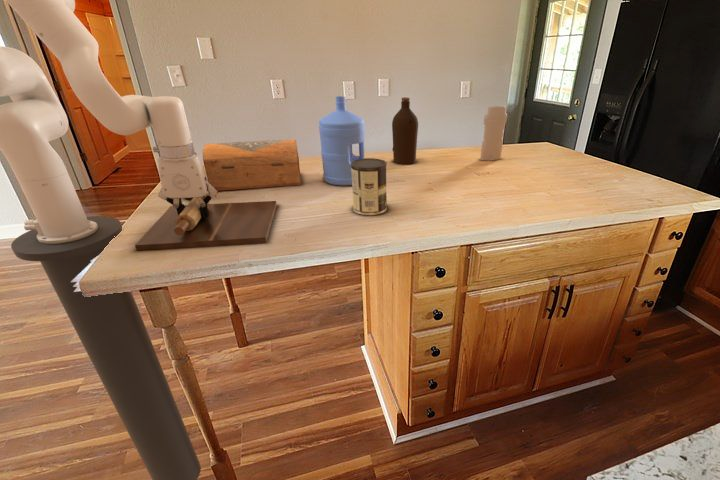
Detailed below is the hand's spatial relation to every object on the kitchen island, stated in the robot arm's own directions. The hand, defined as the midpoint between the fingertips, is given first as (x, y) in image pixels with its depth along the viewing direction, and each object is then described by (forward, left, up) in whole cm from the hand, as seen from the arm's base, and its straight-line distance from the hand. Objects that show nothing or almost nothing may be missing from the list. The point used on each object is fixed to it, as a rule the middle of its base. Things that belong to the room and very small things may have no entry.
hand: (195, 219), depth 105 cm
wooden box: (+11, +38, -2) cm, 40 cm away
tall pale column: (+106, +57, -2) cm, 120 cm away
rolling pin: (0, 0, +2) cm, 2 cm away
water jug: (+42, +36, -2) cm, 55 cm away
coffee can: (+48, +6, -2) cm, 48 cm away
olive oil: (+68, +58, -2) cm, 89 cm away
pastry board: (+5, 0, -2) cm, 5 cm away
